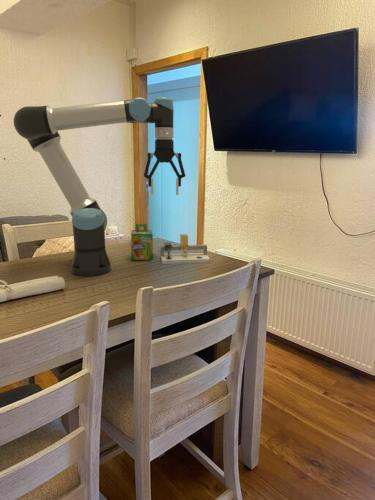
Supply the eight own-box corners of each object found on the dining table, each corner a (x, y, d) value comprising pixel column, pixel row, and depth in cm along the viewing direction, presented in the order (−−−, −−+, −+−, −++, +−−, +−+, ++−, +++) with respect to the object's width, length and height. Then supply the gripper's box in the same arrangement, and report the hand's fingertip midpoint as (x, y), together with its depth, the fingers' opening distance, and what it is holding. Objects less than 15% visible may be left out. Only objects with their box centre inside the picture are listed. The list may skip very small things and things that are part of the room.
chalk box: (131, 261, 162) (130, 226, 159) (131, 255, 171) (130, 222, 167) (153, 260, 164) (152, 226, 160) (152, 254, 172) (151, 222, 169)
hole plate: (162, 264, 158) (162, 251, 156) (160, 257, 167) (160, 245, 166) (209, 262, 160) (210, 249, 159) (205, 256, 170) (205, 244, 169)
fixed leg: (165, 258, 160) (165, 246, 159) (164, 254, 167) (163, 242, 166) (172, 258, 160) (172, 246, 159) (170, 253, 167) (170, 242, 166)
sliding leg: (182, 257, 161) (182, 238, 159) (180, 252, 168) (180, 234, 166) (189, 257, 161) (189, 237, 159) (186, 252, 168) (186, 234, 166)
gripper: (136, 138, 149) (137, 195, 155) (192, 139, 152) (192, 195, 158) (136, 139, 156) (137, 193, 162) (190, 139, 159) (190, 193, 165)
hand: (164, 194), depth 160 cm, fingers open, 10 cm apart
